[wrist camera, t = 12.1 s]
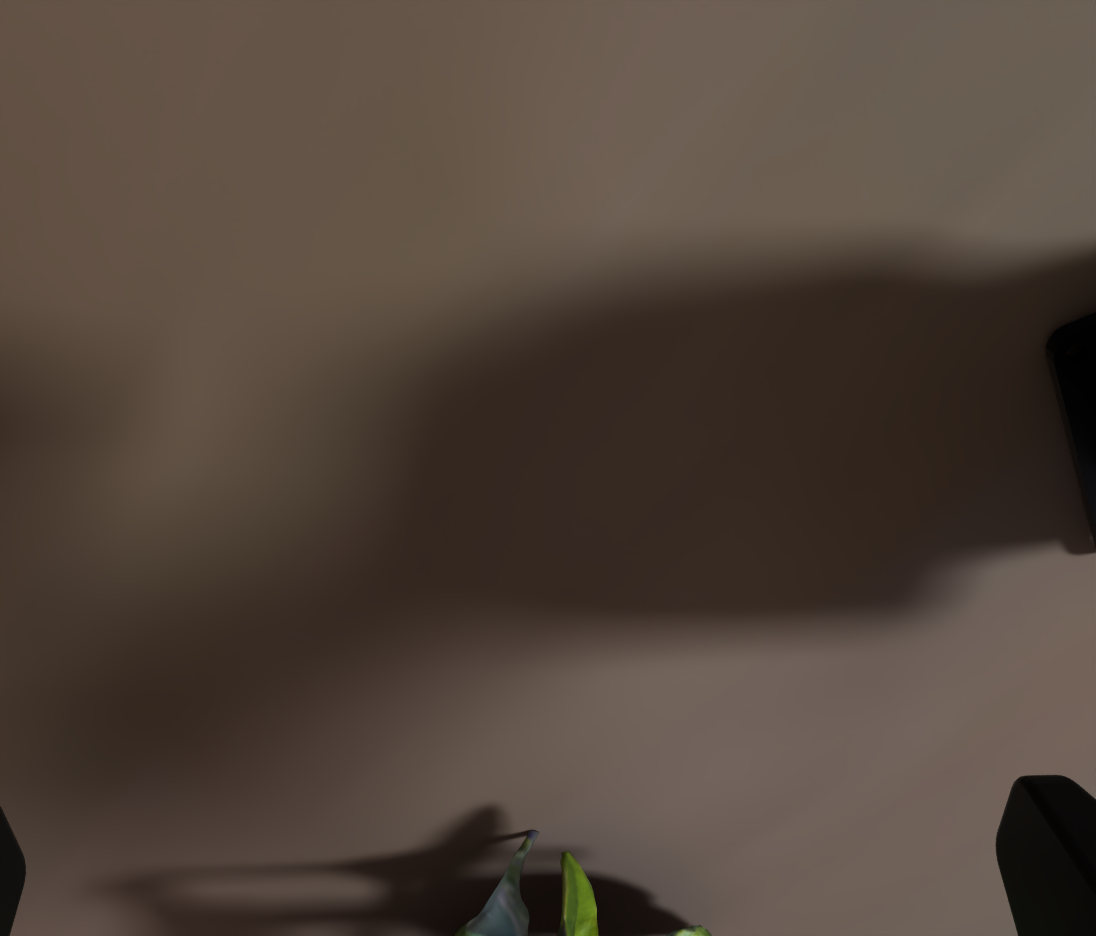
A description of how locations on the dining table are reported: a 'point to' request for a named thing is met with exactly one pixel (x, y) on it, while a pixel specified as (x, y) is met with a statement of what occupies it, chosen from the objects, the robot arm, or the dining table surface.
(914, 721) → the dining table surface
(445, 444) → the dining table surface
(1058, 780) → the robot arm
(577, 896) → the passion flower
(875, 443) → the dining table surface
